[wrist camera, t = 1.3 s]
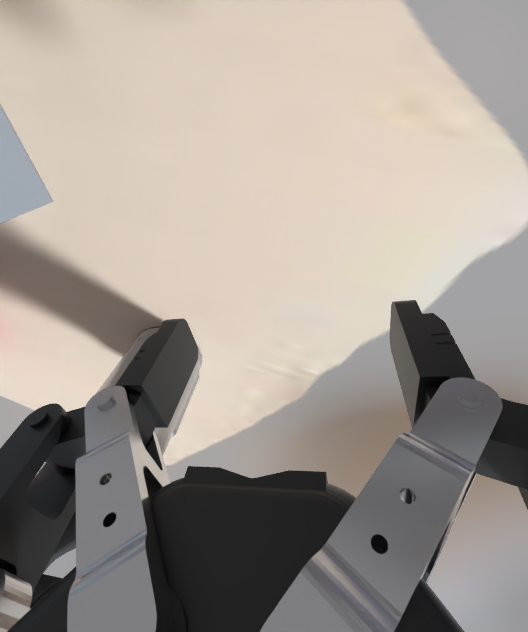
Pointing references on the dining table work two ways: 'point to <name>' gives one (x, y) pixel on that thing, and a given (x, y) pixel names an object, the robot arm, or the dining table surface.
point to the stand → (17, 176)
